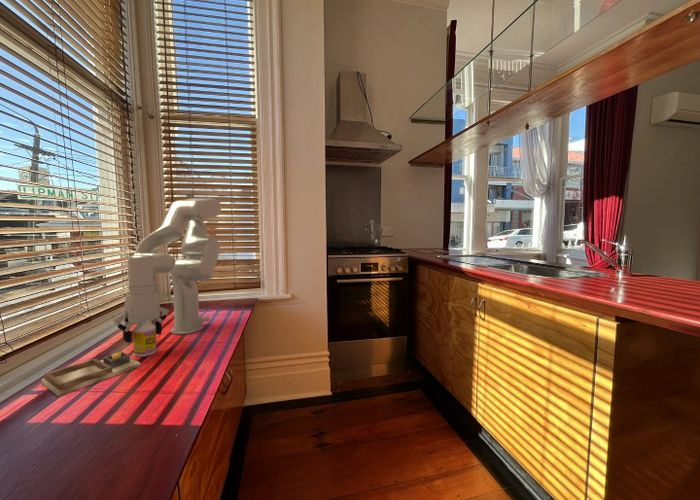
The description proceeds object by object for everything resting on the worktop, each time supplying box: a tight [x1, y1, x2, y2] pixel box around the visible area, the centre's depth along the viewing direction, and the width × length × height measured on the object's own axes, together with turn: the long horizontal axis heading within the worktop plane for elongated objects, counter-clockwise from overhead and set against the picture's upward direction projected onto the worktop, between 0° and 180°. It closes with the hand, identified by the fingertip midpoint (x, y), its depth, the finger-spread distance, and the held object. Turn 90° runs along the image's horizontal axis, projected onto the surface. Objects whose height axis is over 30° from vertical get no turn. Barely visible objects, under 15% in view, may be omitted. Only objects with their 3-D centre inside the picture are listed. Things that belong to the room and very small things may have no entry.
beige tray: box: [41, 351, 142, 397], centre depth 92 cm, size 20×13×3 cm, turn 150°
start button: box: [111, 352, 121, 360], centre depth 97 cm, size 2×2×3 cm
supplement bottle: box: [132, 320, 158, 358], centre depth 107 cm, size 7×7×13 cm
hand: (143, 337), depth 106 cm, fingers open, 9 cm apart
